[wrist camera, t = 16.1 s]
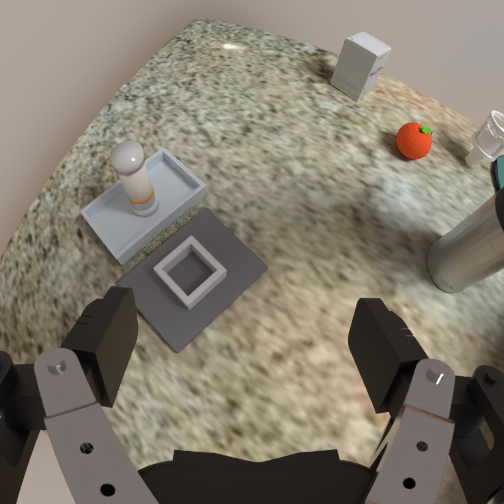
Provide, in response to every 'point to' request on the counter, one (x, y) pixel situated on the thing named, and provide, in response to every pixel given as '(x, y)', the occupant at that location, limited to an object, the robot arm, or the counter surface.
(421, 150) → the clementine
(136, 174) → the white bottle
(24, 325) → the counter surface
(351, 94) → the supplement box
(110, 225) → the tray
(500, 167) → the cutlery set
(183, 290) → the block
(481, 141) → the drinking glass
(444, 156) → the counter surface
